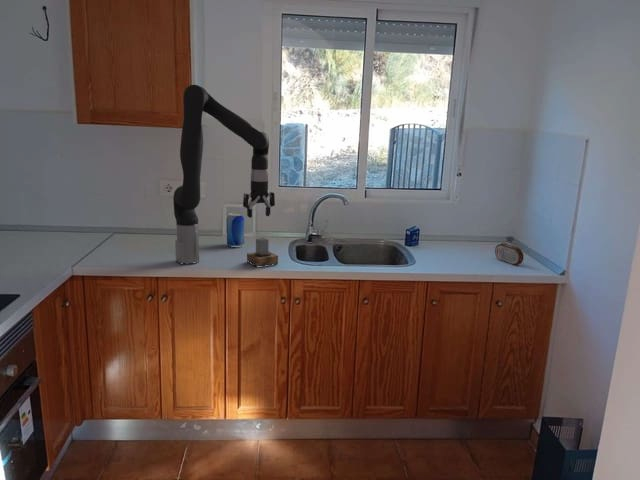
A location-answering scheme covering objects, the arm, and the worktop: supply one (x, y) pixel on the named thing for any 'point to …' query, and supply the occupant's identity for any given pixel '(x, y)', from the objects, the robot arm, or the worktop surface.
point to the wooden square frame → (262, 259)
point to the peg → (261, 247)
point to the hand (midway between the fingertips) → (258, 216)
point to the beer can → (235, 229)
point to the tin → (509, 254)
